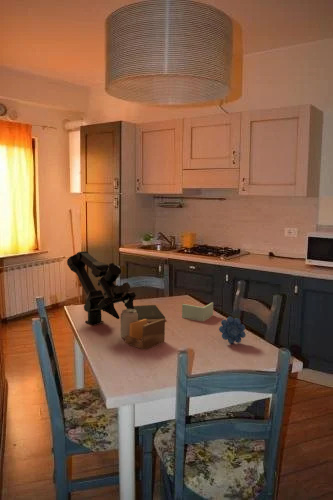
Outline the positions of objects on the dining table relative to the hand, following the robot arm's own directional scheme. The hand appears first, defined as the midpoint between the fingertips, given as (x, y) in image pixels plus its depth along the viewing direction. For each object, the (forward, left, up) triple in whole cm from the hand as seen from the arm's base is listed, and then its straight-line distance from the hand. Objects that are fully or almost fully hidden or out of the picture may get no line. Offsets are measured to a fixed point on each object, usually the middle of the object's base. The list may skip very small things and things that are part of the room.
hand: (126, 316), depth 180 cm
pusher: (+7, 0, -9) cm, 11 cm away
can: (+2, 0, -9) cm, 9 cm away
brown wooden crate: (+11, 0, -9) cm, 14 cm away
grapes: (+40, +24, -9) cm, 47 cm away
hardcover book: (-15, +28, -10) cm, 33 cm away
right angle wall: (+6, +45, -10) cm, 46 cm away
